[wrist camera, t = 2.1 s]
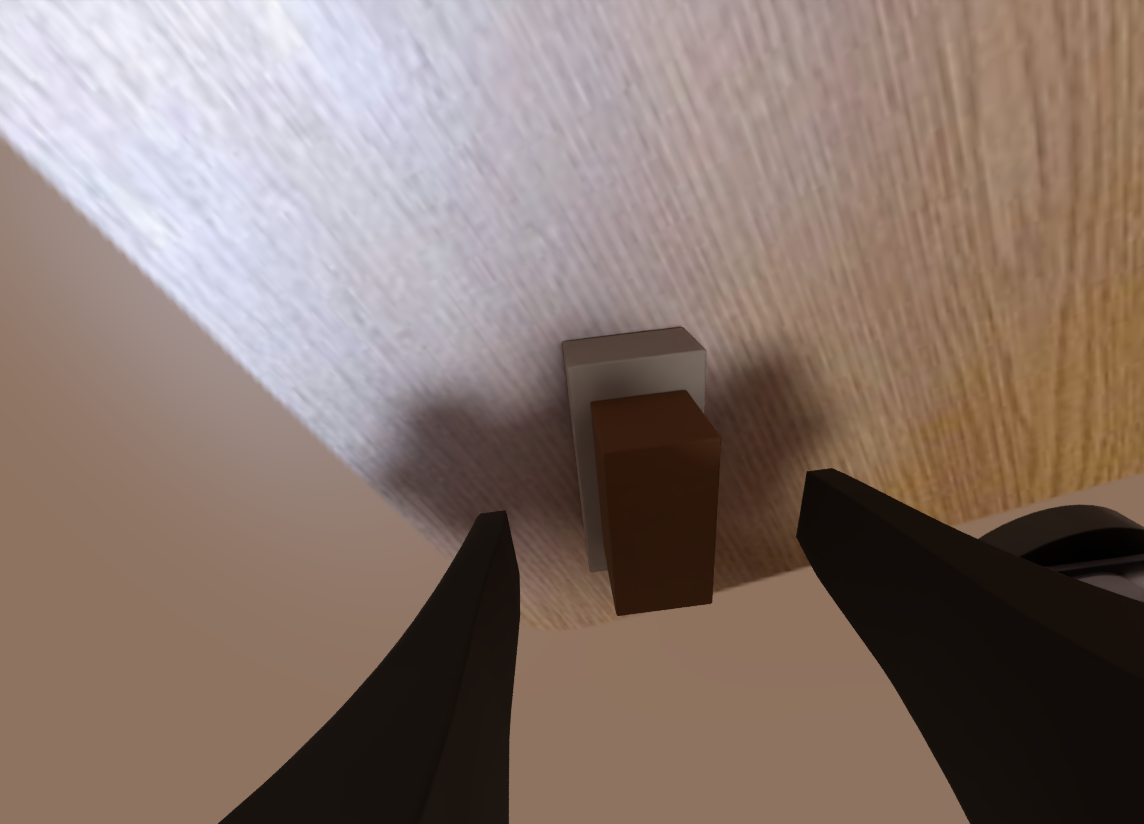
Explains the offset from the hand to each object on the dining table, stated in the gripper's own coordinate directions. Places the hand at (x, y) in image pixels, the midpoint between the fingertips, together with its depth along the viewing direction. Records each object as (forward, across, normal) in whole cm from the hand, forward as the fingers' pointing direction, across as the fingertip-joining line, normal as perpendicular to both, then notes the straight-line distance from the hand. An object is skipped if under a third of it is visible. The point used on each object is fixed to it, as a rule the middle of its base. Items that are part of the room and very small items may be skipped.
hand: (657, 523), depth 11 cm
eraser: (+4, 0, 0) cm, 4 cm away
